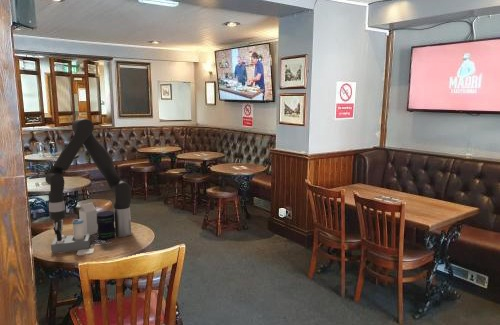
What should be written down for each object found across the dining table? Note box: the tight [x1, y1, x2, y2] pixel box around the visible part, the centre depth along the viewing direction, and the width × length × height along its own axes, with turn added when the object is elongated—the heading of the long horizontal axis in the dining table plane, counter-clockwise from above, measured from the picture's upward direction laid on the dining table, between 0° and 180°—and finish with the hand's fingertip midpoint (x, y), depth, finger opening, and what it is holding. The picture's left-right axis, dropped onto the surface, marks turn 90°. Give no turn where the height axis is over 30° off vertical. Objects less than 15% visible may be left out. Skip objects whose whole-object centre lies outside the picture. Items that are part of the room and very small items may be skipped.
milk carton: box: [78, 201, 98, 236], centre depth 221 cm, size 7×7×19 cm
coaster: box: [76, 248, 95, 256], centre depth 194 cm, size 8×6×1 cm
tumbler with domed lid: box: [71, 218, 84, 240], centre depth 201 cm, size 6×6×16 cm
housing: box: [50, 233, 92, 254], centre depth 200 cm, size 18×12×5 cm, turn 109°
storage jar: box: [96, 210, 116, 242], centre depth 214 cm, size 10×10×15 cm
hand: (59, 240), depth 195 cm, fingers closed
